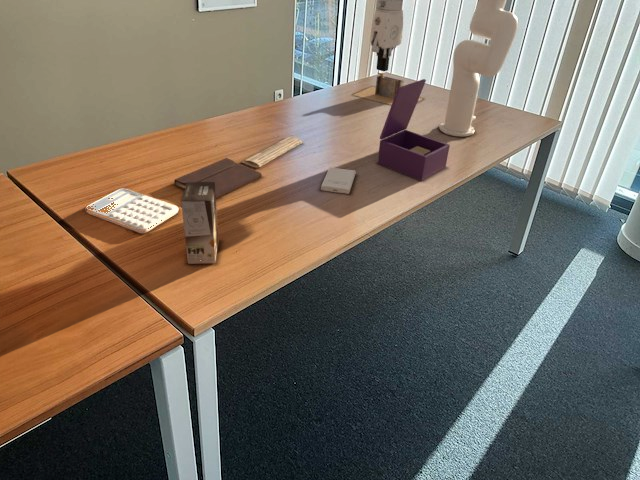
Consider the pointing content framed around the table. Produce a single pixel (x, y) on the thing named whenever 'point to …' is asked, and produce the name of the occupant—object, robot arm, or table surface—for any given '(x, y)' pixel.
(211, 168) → the notebook
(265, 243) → the table surface
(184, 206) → the coffee box
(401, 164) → the purple lidded box
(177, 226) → the table surface
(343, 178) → the hard drive
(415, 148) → the block
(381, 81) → the architectural model on board
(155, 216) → the calculator
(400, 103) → the lid
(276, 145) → the newspaper
